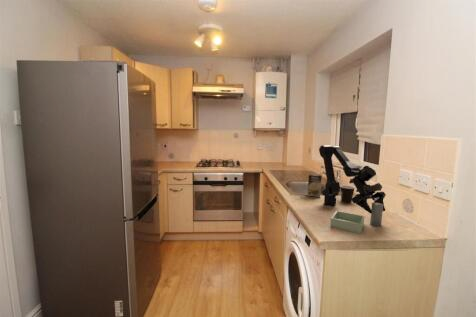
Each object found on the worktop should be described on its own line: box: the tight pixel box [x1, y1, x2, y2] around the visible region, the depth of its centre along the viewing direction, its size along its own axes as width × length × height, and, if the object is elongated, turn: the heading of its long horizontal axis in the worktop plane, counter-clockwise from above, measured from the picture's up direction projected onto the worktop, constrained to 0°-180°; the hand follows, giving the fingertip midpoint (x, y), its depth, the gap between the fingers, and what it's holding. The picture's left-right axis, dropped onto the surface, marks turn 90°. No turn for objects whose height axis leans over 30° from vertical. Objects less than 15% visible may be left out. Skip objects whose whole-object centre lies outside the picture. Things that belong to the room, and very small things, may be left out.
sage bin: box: [330, 210, 365, 234], centre depth 118 cm, size 14×14×4 cm
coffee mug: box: [340, 185, 355, 204], centre depth 160 cm, size 12×9×10 cm
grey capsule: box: [369, 202, 384, 227], centre depth 120 cm, size 5×5×11 cm
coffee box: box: [306, 173, 323, 198], centre depth 170 cm, size 9×6×16 cm
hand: (377, 211), depth 119 cm, fingers open, 9 cm apart
